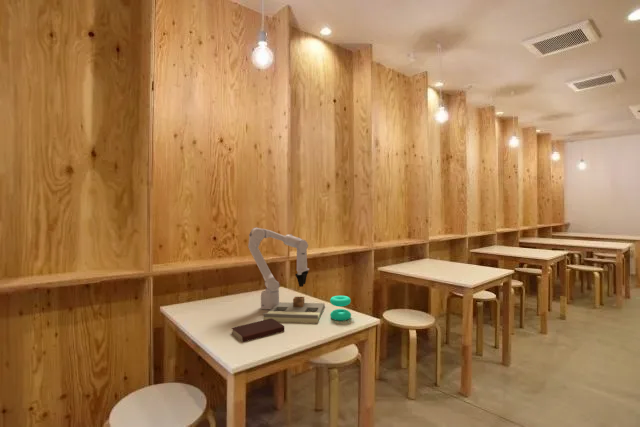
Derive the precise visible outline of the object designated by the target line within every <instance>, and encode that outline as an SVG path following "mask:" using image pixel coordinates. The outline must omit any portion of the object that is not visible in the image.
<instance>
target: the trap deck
mask: <svg viewBox="0 0 640 427" xmlns="http://www.w3.org/2000/svg"><path fill="white" fill-rule="evenodd" d="M325 305H326V304H325V303H323V302H319V303H318V302H304V306H303V307H293V302H285V301H284V302H283V301H281V302H280V301H279V304H278V305H274V307H273V308H272V309H269V311H268V312H265V313H263V314H262V315H263V316H262V317H263V318H262V320H266V319H271V318H272V319H274V320H276V321H277V322H279V323H303V324H304V323H306V324H308V323H310V324H318V323H319V322H320V321H319V320H320V318H321V316H322V315H323V312H324V310H325Z"/></svg>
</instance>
